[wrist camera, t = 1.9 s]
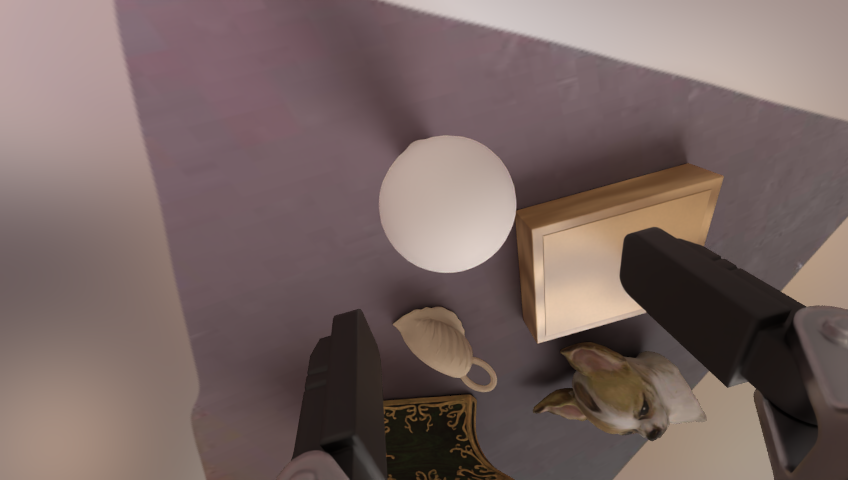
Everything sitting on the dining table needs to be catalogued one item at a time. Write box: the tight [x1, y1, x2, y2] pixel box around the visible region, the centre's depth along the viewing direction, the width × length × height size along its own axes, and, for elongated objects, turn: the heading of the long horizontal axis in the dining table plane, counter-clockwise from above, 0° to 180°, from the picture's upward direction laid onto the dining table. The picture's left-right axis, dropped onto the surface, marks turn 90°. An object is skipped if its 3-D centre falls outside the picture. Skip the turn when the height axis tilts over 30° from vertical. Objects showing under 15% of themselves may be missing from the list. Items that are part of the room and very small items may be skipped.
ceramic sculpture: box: [533, 342, 707, 441], centre depth 33 cm, size 11×9×15 cm
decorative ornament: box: [393, 307, 497, 392], centre depth 28 cm, size 4×8×5 cm, turn 47°
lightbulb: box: [379, 135, 516, 273], centre depth 17 cm, size 6×6×11 cm
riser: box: [515, 163, 724, 344], centre depth 27 cm, size 12×14×3 cm
